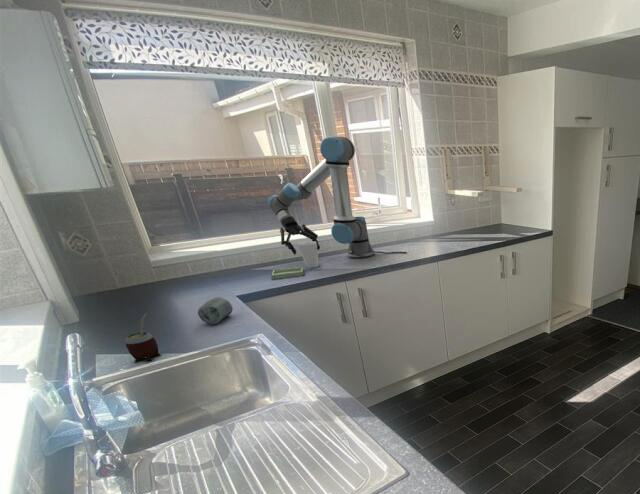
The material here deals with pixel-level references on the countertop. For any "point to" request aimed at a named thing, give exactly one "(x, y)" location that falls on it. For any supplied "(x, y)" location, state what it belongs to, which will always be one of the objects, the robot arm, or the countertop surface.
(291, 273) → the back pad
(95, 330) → the countertop surface
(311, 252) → the foam cup
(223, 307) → the grey rolled towel
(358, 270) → the countertop surface
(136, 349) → the mate gourd
